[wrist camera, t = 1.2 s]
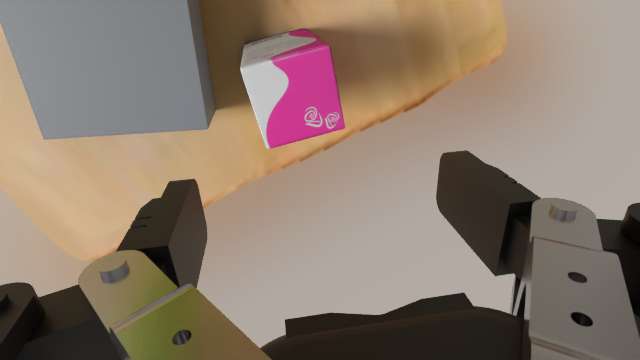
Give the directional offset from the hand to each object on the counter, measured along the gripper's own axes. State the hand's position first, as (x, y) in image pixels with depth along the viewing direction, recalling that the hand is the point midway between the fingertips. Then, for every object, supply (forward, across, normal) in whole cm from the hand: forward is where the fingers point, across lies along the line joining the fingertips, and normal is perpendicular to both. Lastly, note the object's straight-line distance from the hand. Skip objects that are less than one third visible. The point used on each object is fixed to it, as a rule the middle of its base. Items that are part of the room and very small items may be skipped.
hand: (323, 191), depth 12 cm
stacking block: (+24, +12, -3) cm, 27 cm away
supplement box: (+24, 0, 0) cm, 24 cm away
